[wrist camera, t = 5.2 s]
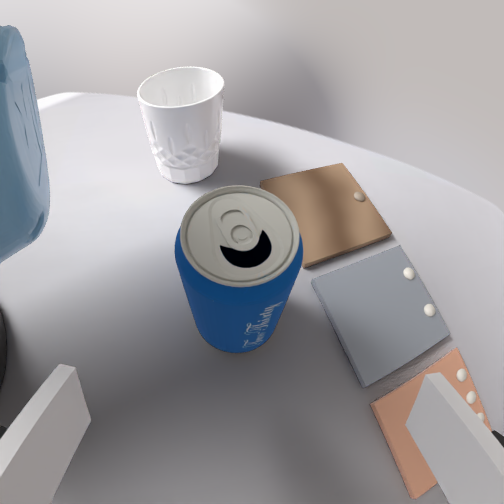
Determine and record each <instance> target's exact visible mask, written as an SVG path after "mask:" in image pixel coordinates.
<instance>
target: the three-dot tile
mask: <svg viewBox="0 0 504 504" xmlns="http://www.w3.org/2000/svg"><path fill="white" fill-rule="evenodd" d="M438 372H440V373H441V374H442V375H443V376H444V377H445V378H446V379H447V381H448V382H449V383H450V384H451V385H452V386H453V387H454V389H455V390H456V391H457V392H458V393H459V394H460V395H461V397H462V398H463V399H464V400H465V401H466V403H467V404H468V405H469V406H470V407H471V408H472V410H473V411H474V412H475V413H476V414H477V416H478V417H479V418H480V419H481V420H482V422H483V423H484V424H485V425H486V426H487V428H488V429H489V430H490V431H491V432H492V430H491V427H490V424H489V422H488V419H487V416H486V414H485V411H484V408H483V406H482V403H481V401H480V398H479V396H478V393H477V391H476V389H475V386H474V384H473V382H472V379H471V377H470V375H469V372H468V370H467V368H466V366H465V363H464V361H463V359H462V357H461V355H460V353H459V351H458V349H457V348H455V349H453V350H451V351H450V352H449V353H447V354H446V355H445V356H443V357H442V358H440V359H439V360H438V361H436V362H435V363H433V364H432V365H431V366H429V367H428V368H426V369H425V370H423V371H422V372H420V373H419V374H418V375H416V376H415V377H413V378H411V379H410V380H408V381H407V382H405V383H404V384H402V385H401V386H399V387H397V388H396V389H394V390H393V391H391V392H389V393H388V394H386V395H384V396H383V397H381V398H379V399H378V400H376V401H374V402H372V403H371V404H370V405H371V408H372V410H373V412H374V414H375V416H376V419H377V421H378V423H379V425H380V427H381V430H382V432H383V434H384V436H385V439H386V441H387V443H388V446H389V448H390V450H391V452H392V455H393V457H394V459H395V462H396V464H397V466H398V469H399V471H400V473H401V476H402V478H403V480H404V483H405V485H406V488H407V490H408V492H409V495H410V497H411V498H413V499H417V498H418V497H420V496H421V495H422V494H424V493H425V492H426V491H428V490H429V489H430V488H432V487H433V486H434V485H436V484H437V483H438V482H437V480H436V478H435V476H434V475H433V473H432V471H431V469H430V467H429V466H428V464H427V462H426V460H425V459H424V457H423V455H422V453H421V452H420V450H419V448H418V446H417V445H416V443H415V441H414V439H413V438H412V436H411V434H410V433H409V431H408V429H407V427H406V426H405V424H406V421H407V419H408V417H409V415H410V412H411V410H412V408H413V405H414V403H415V400H416V398H417V395H418V393H419V390H420V388H421V385H422V382H423V380H424V377H425V375H426V374H432V373H438Z"/></svg>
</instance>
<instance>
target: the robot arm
mask: <svg viewBox="0 0 504 504" xmlns="http://www.w3.org/2000/svg"><path fill="white" fill-rule="evenodd" d="M49 208H50V187H49V176H48V168H47V161H46V153H45V147H44V141H43V134H42V129H41V123H40V117H39V111H38V105H37V100H36V94H35V89H34V83H33V79H32V73H31V69H30V64H29V60H28V58H27V57H26V52H25V46H24V41H23V39H22V36H21V34H20V32H19V31H18V29H17V28H15V27H13V26H10V25H8V26H3V27H2V26H0V263H1V262H3V261H4V260H6V259H7V258H9V257H10V256H12V255H13V254H15V253H17V252H18V251H20V250H21V249H23V248H25V247H26V246H28V245H29V244H31V243H32V242H33V241H35V240H36V239H37V238H38V237H39V235H40V234H41V232H42V231H43V229H44V227H45V224H46V222H47V219H48V215H49ZM5 363H6V332H5V326H4V321H3V317H2V314H1V311H0V387H1V384H2V380H3V376H4V370H5ZM90 422H91V417H90V414H89V411H88V408H87V405H86V401H85V398H84V395H83V391H82V388H81V384H80V381H79V377H78V373H77V369H76V367H73V366H68V365H63V364H59V365H58V366H57V367H56V368H55V369H54V371H53V372H52V373H51V374H50V375H49V377H48V378H47V379H46V380H45V382H44V383H43V384H42V385H41V387H40V388H39V389H38V390H37V392H36V393H35V394H34V395H33V397H32V398H31V399H30V401H29V402H28V403H27V404H26V406H25V407H24V408H23V410H22V411H21V412H20V413H19V415H18V416H17V417H16V419H15V420H14V421H13V423H12V424H11V425H10V427H9V428H8V429H7V428H5V427H2V426H1V427H0V504H51V502H52V499H53V497H54V495H55V493H56V491H57V489H58V486H59V484H60V482H61V480H62V478H63V476H64V474H65V472H66V470H67V468H68V466H69V464H70V461H71V459H72V457H73V455H74V453H75V451H76V449H77V447H78V445H79V443H80V441H81V440H82V438H83V436H84V434H85V432H86V430H87V428H88V426H89V424H90ZM405 426H406V427H407V429H408V431H409V433H410V434H411V436H412V438H413V439H414V441H415V443H416V445H417V446H418V448H419V450H420V452H421V453H422V455H423V457H424V459H425V460H426V462H427V464H428V466H429V467H430V469H431V471H432V473H433V475H434V476H435V478H436V480H437V482H438V484H439V486H440V487H441V489H442V491H443V493H444V495H445V497H446V498H447V500H448V502H449V504H504V436H502V435H501V434H499V433H498V432H496V431H495V430H494V431H492V432H491V431H490V430H489V429H488V428H487V426H486V425H485V424H484V423H483V422H482V420H481V419H480V418H479V417H478V416H477V414H476V413H475V412H474V411H473V410H472V408H471V407H470V406H469V405H468V404H467V403H466V401H465V400H464V399H463V398H462V397H461V395H460V394H459V393H458V392H457V391H456V390H455V389H454V387H453V386H452V385H451V384H450V383H449V382H448V381H447V379H446V378H445V377H444V376H443V375H442V374H441V373H440V372H438V373H432V374H426V375H425V377H424V380H423V382H422V385H421V388H420V390H419V393H418V395H417V398H416V400H415V403H414V405H413V408H412V410H411V412H410V415H409V417H408V419H407V421H406V424H405Z"/></svg>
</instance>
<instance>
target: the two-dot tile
mask: <svg viewBox="0 0 504 504" xmlns="http://www.w3.org/2000/svg"><path fill="white" fill-rule="evenodd" d="M311 284H312V286H313V288H314V290H315V292H316V294H317V296H318V298H319V300H320V302H321V304H322V306H323V308H324V310H325V312H326V314H327V316H328V318H329V320H330V322H331V324H332V326H333V328H334V330H335V332H336V334H337V336H338V338H339V340H340V342H341V344H342V346H343V348H344V350H345V352H346V354H347V356H348V359H349V361H350V363H351V365H352V367H353V369H354V371H355V373H356V375H357V377H358V380H359V382H360V384H361V386H362V388H364V387H367V386H369V385H370V384H372V383H374V382H376V381H378V380H379V379H381V378H383V377H385V376H386V375H388V374H390V373H391V372H393V371H395V370H396V369H398V368H400V367H401V366H403V365H404V364H406V363H408V362H409V361H411V360H412V359H414V358H416V357H417V356H419V355H420V354H422V353H423V352H425V351H426V350H428V349H429V348H431V347H432V346H434V345H435V344H437V343H438V342H439V341H441V340H442V339H444V338H445V337H446V336H448V335H449V334H450V332H449V330H448V328H447V326H446V324H445V323H444V321H443V319H442V317H441V315H440V313H439V311H438V309H437V307H436V306H435V304H434V302H433V300H432V298H431V296H430V295H429V293H428V291H427V289H426V288H425V286H424V284H423V282H422V281H421V279H420V277H419V276H418V274H417V272H416V270H415V269H414V267H413V265H412V264H411V262H410V261H409V259H408V257H407V256H406V254H405V252H404V251H403V249H402V248H401V246H400V245H399V246H397V247H394V248H392V249H389V250H387V251H384V252H382V253H379V254H377V255H374V256H372V257H369V258H366V259H364V260H361V261H359V262H356V263H354V264H351V265H348V266H346V267H343V268H341V269H338V270H335V271H333V272H330V273H327V274H325V275H322V276H319V277H317V278H314V279H313V280H312V282H311Z"/></svg>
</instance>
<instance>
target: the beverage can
mask: <svg viewBox="0 0 504 504" xmlns="http://www.w3.org/2000/svg"><path fill="white" fill-rule="evenodd" d="M175 259H176V263H177V266H178V270H179V273H180V276H181V279H182V283H183V286H184V289H185V292H186V295H187V298H188V301H189V305H190V308H191V311H192V314H193V317H194V320H195V323H196V326H197V328H198V330H199V332H200V334H201V335H202V337H203V338H204V339H205V340H206V341H207V342H208V343H209V344H211V345H212V346H214V347H215V348H217V349H219V350H222V351H225V352H231V353H243V352H247V351H251V350H254V349H256V348H258V347H259V346H261V345H262V344H264V343H265V342H266V341H267V340H268V339H269V337H270V336H271V335H272V333H273V331H274V329H275V327H276V325H277V322H278V320H279V318H280V315H281V313H282V311H283V308H284V306H285V304H286V301H287V299H288V297H289V294H290V292H291V290H292V287H293V285H294V282H295V280H296V278H297V275H298V273H299V270H300V268H301V265H302V260H303V242H302V238H301V235H300V232H299V227H298V223H297V221H296V218H295V216H294V214H293V213H292V211H291V210H290V209H289V207H288V206H287V205H286V204H285V203H284V202H283V201H282V200H280V199H279V198H278V197H276V196H275V195H273V194H271V193H269V192H267V191H265V190H262V189H260V188H256V187H252V186H244V185H233V186H225V187H221V188H217V189H215V190H212V191H210V192H208V193H206V194H204V195H203V196H201V197H200V198H198V199H197V200H196V201H195V202H194V203H193V204H192V205H191V206H190V207H189V209H188V210H187V212H186V213H185V215H184V217H183V220H182V223H181V226H180V228H179V230H178V233H177V236H176V242H175Z"/></svg>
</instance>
